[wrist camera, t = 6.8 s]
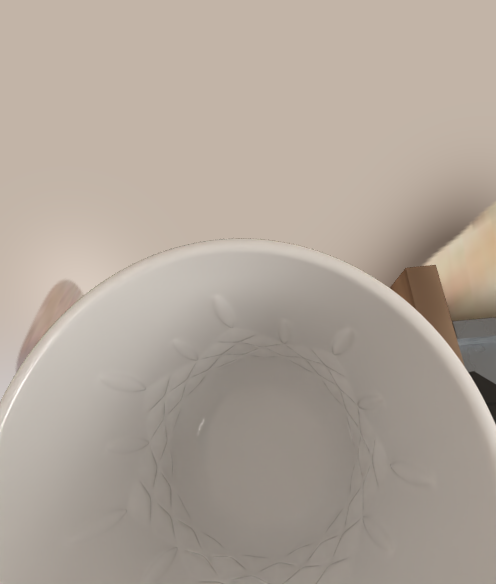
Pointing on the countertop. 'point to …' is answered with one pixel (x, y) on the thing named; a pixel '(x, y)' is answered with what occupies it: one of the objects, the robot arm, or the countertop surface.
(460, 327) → the gray square tray
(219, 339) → the white cup
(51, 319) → the countertop surface
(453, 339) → the brown drawer face panel
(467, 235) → the countertop surface
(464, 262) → the countertop surface
